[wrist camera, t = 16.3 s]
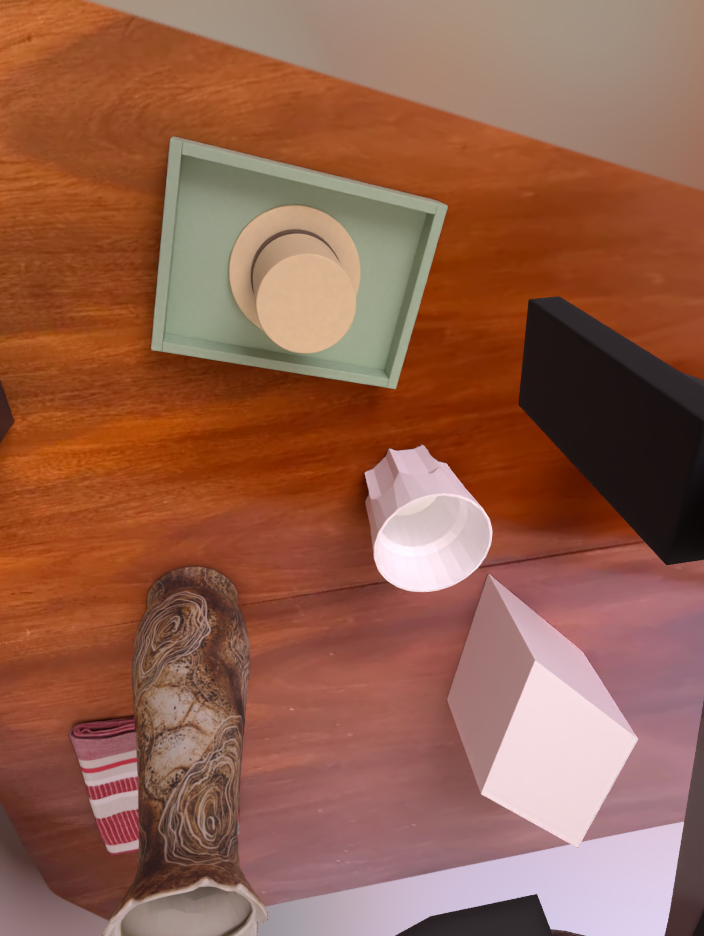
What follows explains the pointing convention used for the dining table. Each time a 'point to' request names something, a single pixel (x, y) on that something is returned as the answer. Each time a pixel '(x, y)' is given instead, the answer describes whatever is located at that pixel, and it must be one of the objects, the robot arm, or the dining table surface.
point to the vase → (189, 762)
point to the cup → (423, 522)
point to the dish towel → (111, 779)
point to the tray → (237, 203)
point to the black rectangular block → (4, 415)
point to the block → (536, 718)
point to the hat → (296, 277)
